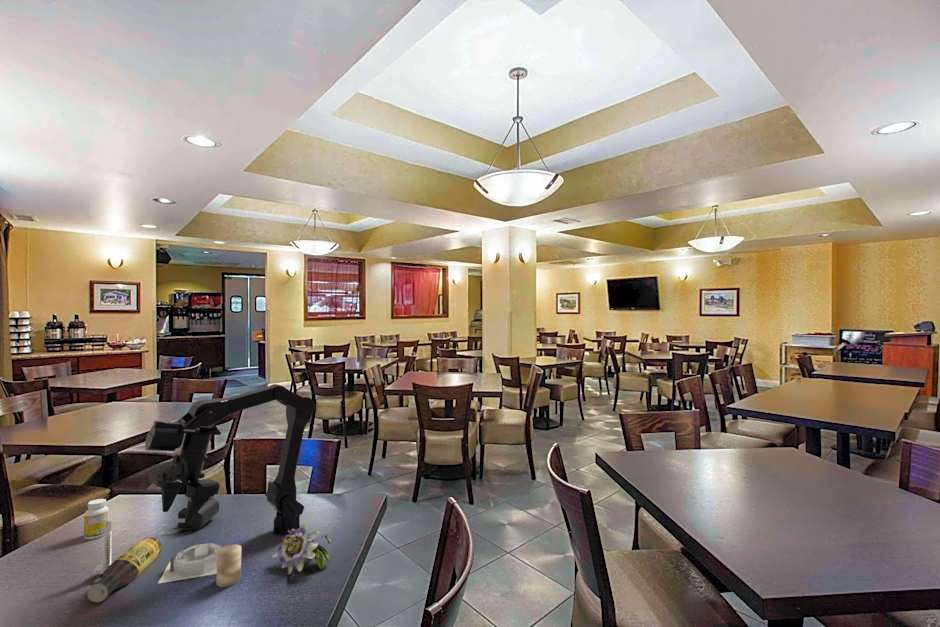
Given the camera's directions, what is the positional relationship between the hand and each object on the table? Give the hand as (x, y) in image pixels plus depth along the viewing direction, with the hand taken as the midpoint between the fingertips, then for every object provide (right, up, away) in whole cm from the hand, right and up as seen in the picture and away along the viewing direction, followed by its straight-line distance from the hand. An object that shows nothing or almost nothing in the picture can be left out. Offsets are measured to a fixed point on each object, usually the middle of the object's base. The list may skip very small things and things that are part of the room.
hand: (176, 517), depth 108 cm
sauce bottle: (-10, -10, +6) cm, 16 cm away
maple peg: (+16, -13, -5) cm, 21 cm away
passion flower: (+30, -14, +3) cm, 33 cm away
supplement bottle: (-34, -14, +18) cm, 41 cm away
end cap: (-9, -14, +24) cm, 29 cm away
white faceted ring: (+5, -12, +1) cm, 13 cm away
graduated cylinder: (-15, -13, -2) cm, 20 cm away
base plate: (+5, -13, +1) cm, 14 cm away
